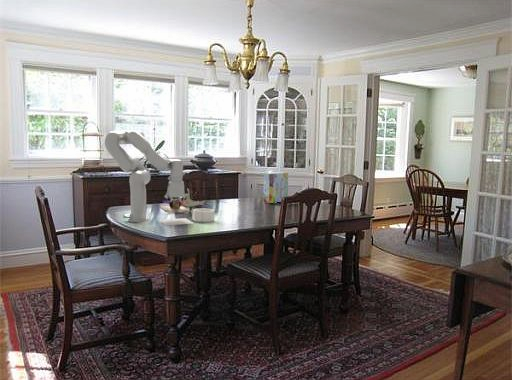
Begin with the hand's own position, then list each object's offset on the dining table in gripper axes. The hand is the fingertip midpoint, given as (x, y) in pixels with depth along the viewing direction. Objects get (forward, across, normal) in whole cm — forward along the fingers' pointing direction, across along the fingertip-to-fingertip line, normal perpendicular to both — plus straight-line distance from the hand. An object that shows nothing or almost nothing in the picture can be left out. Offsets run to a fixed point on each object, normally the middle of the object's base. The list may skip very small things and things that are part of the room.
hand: (174, 207), depth 271 cm
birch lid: (+1, 0, 0) cm, 1 cm away
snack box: (+7, +104, +55) cm, 118 cm away
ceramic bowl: (+9, +19, -1) cm, 21 cm away
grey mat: (+9, +1, -1) cm, 9 cm away
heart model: (+10, +10, +34) cm, 37 cm away
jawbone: (+10, +30, +54) cm, 63 cm away
